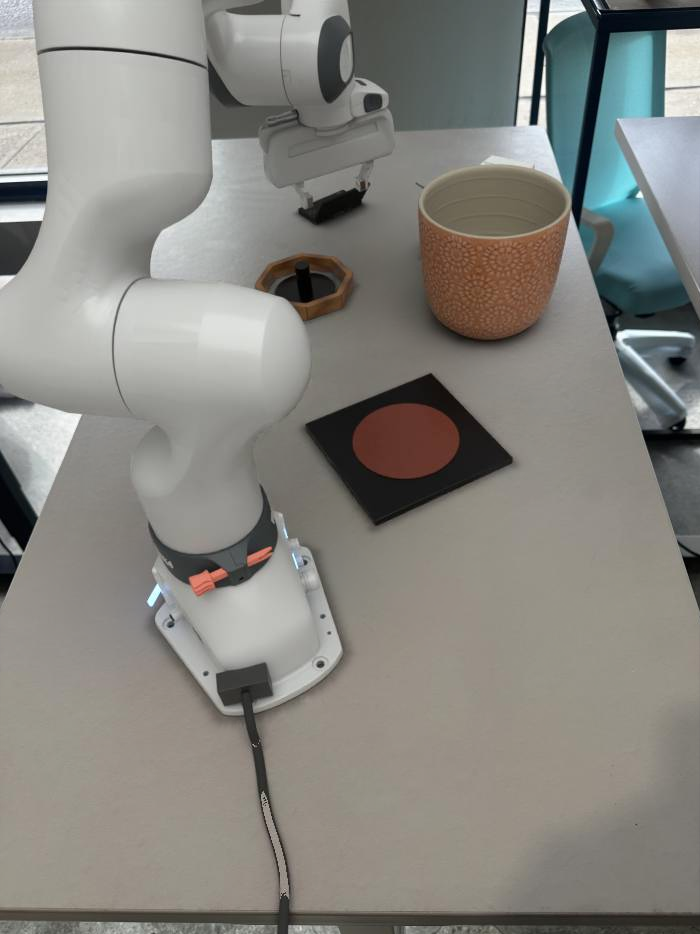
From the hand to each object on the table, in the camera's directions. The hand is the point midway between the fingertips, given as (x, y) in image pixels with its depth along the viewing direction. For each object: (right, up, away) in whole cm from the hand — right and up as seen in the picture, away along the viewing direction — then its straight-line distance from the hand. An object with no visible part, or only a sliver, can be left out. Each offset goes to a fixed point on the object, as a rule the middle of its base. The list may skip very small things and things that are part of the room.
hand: (334, 197), depth 112 cm
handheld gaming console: (-2, +8, +25) cm, 27 cm away
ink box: (+29, +2, +18) cm, 34 cm away
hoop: (-5, -12, +9) cm, 16 cm away
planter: (+24, -18, +2) cm, 30 cm away
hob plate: (+10, -40, -16) cm, 44 cm away
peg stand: (-5, -12, +9) cm, 16 cm away
